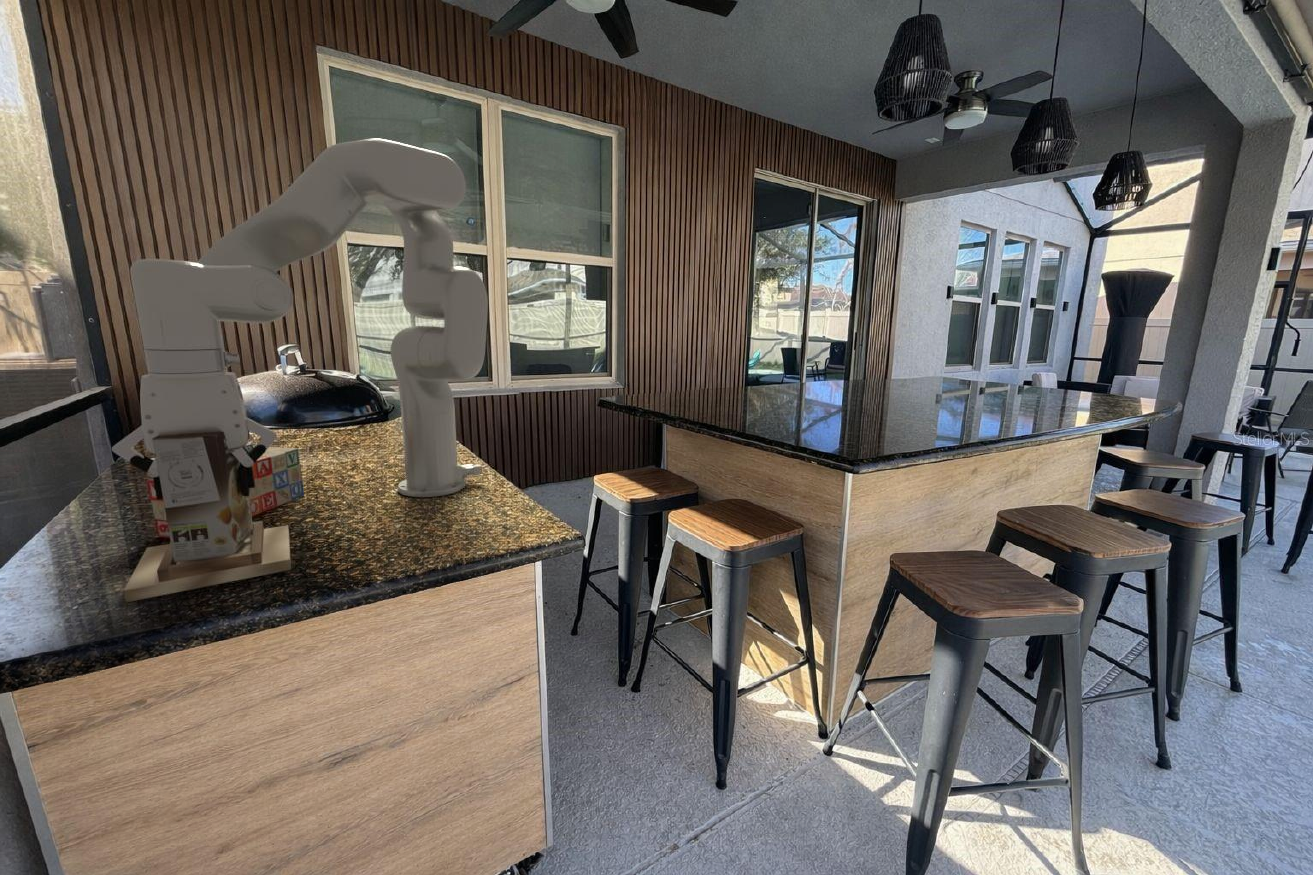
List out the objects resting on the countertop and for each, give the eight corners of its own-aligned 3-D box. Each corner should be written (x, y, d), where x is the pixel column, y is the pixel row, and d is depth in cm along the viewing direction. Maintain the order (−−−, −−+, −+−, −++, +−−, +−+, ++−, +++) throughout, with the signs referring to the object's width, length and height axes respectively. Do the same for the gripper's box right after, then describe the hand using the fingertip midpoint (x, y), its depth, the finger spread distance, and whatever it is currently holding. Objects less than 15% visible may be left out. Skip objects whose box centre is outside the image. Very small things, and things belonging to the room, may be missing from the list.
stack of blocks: (275, 493, 101) (267, 430, 98) (305, 496, 100) (297, 432, 97) (156, 537, 80) (141, 458, 77) (192, 541, 79) (178, 461, 77)
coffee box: (235, 556, 69) (216, 435, 65) (172, 563, 66) (149, 438, 63) (255, 530, 77) (239, 421, 74) (200, 536, 75) (180, 424, 71)
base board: (289, 534, 82) (286, 515, 82) (291, 569, 71) (288, 548, 71) (149, 557, 73) (145, 537, 73) (126, 602, 62) (121, 578, 62)
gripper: (273, 360, 74) (288, 481, 78) (97, 362, 65) (125, 501, 68) (272, 364, 68) (289, 495, 72) (79, 368, 59) (110, 519, 62)
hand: (209, 497), depth 70 cm, fingers closed on coffee box, 7 cm apart
